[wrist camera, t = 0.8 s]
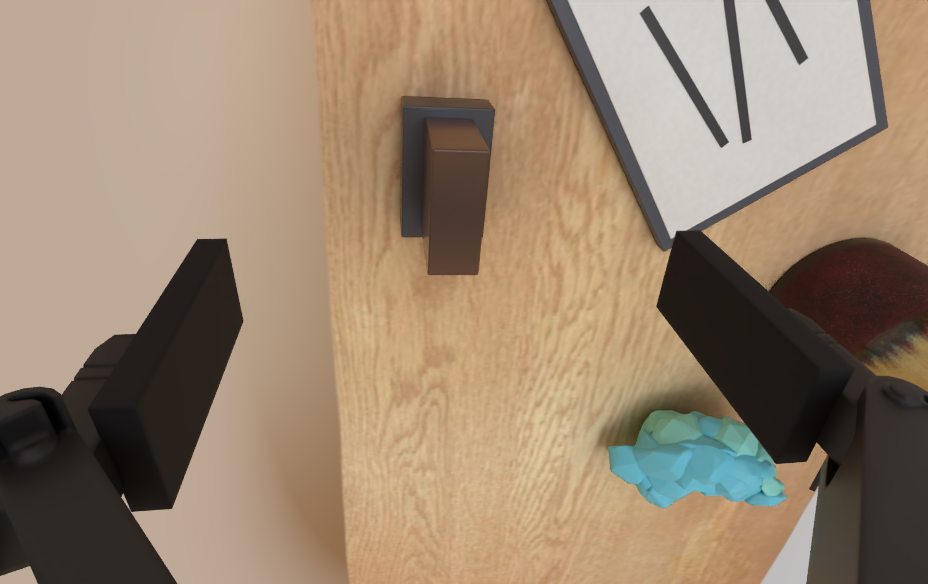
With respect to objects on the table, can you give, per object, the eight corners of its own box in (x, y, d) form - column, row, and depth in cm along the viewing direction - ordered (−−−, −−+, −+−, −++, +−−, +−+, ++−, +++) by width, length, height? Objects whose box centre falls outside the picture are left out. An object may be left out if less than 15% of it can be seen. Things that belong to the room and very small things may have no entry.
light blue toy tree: (764, 381, 48) (740, 366, 36) (797, 489, 45) (784, 512, 33) (640, 404, 53) (583, 398, 41) (663, 502, 51) (609, 526, 38)
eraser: (401, 95, 28) (407, 135, 22) (488, 99, 29) (516, 139, 23) (400, 222, 32) (404, 285, 26) (477, 222, 32) (499, 284, 27)
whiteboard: (528, -40, 26) (533, -39, 25) (820, -243, 23) (838, -250, 22) (657, 245, 35) (664, 253, 34) (877, 123, 32) (890, 128, 31)
